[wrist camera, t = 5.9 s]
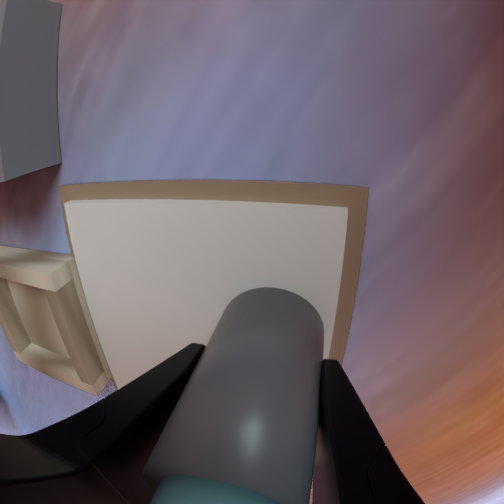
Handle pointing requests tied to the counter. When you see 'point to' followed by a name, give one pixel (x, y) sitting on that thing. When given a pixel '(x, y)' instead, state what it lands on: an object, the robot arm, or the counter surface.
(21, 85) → the button housing
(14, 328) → the holder tray
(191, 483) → the marker
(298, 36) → the counter surface
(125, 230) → the white flat rectangular panel
